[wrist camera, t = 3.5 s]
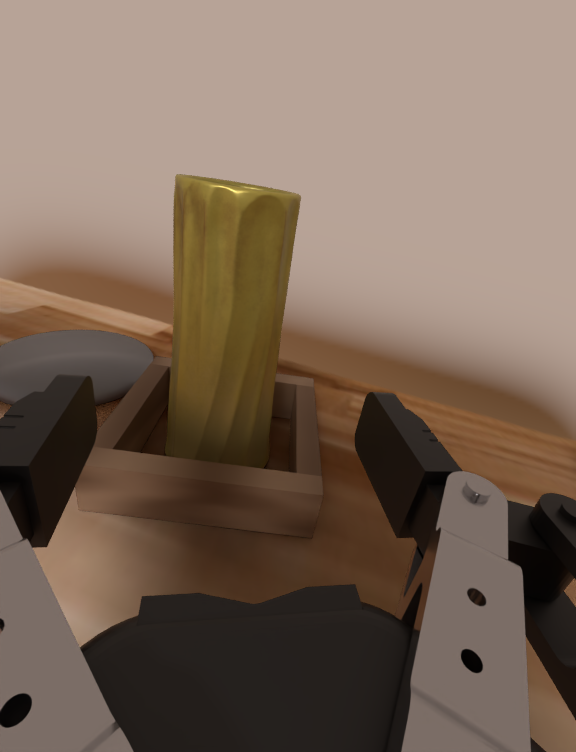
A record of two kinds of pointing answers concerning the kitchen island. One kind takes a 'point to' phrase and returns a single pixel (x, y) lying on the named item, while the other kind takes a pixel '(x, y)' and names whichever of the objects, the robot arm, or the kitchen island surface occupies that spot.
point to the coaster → (72, 362)
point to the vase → (227, 317)
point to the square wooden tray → (204, 467)
